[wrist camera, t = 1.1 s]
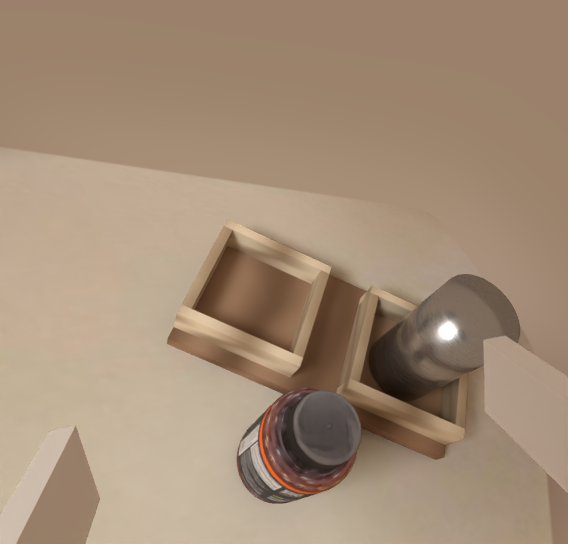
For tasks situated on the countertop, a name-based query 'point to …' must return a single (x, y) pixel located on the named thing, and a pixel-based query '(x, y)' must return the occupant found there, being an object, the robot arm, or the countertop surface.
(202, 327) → the wooden divided tray
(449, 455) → the countertop surface
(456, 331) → the billet
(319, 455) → the supplement bottle
